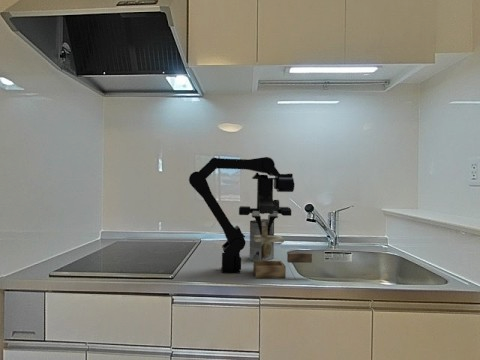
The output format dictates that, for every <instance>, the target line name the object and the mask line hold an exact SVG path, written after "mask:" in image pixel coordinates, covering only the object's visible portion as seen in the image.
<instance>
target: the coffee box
mask: <svg viewBox="0 0 480 360" xmlns="http://www.w3.org/2000/svg"><path fill="white" fill-rule="evenodd" d="M267 223H268V218H267V219H266V218H261V225H267ZM254 235H256V236H261V234H260V231H259V228H258V224H257V222H256V219H253V220H249V260H250V261H270V260H272V259H274V258H275V254H274V252H275V242H255V239H254ZM267 236H275V220H274V221H273V223H272V225H271V228H270V231H269V234H268V235H267Z"/></svg>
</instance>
